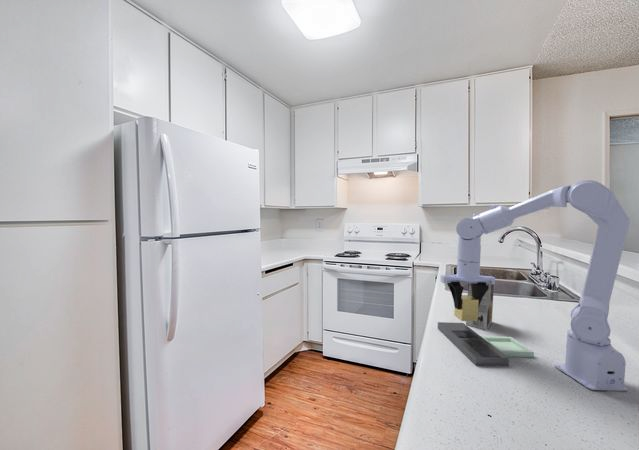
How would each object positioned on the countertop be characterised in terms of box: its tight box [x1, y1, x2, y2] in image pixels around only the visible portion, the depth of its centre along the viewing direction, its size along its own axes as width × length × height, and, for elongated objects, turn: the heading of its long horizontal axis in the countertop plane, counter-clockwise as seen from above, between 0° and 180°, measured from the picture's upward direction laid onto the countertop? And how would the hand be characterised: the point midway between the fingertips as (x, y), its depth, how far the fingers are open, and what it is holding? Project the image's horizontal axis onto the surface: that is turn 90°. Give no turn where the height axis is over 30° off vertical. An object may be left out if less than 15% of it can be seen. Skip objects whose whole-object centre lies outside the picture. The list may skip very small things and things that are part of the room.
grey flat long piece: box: [437, 321, 510, 367], centre depth 81 cm, size 22×8×2 cm, turn 1°
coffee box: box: [465, 273, 495, 331], centre depth 97 cm, size 9×6×16 cm
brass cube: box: [453, 294, 479, 322], centre depth 83 cm, size 4×4×6 cm
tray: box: [480, 335, 535, 358], centre depth 79 cm, size 9×9×1 cm
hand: (466, 308), depth 83 cm, fingers closed on brass cube, 4 cm apart
